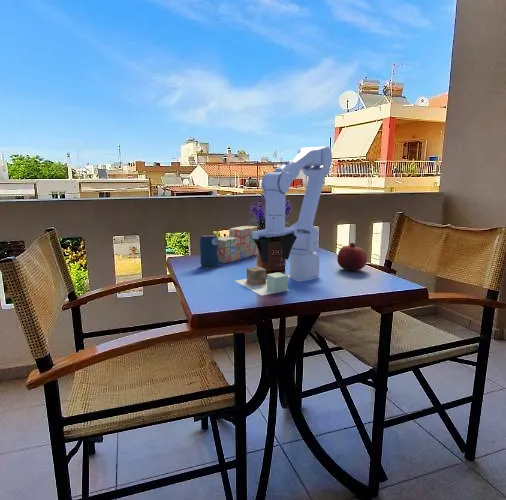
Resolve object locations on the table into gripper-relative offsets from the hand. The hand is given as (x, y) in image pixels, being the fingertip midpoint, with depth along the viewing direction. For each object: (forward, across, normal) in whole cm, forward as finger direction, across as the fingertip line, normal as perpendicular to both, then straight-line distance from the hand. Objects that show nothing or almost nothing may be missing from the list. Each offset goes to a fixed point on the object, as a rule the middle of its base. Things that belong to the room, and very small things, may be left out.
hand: (275, 260), depth 110 cm
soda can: (+10, +4, -37) cm, 38 cm away
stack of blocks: (+10, -12, -44) cm, 47 cm away
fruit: (+10, -37, -5) cm, 38 cm away
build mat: (+9, +1, -6) cm, 11 cm away
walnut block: (+9, +1, -9) cm, 12 cm away
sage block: (+9, 0, 0) cm, 9 cm away
